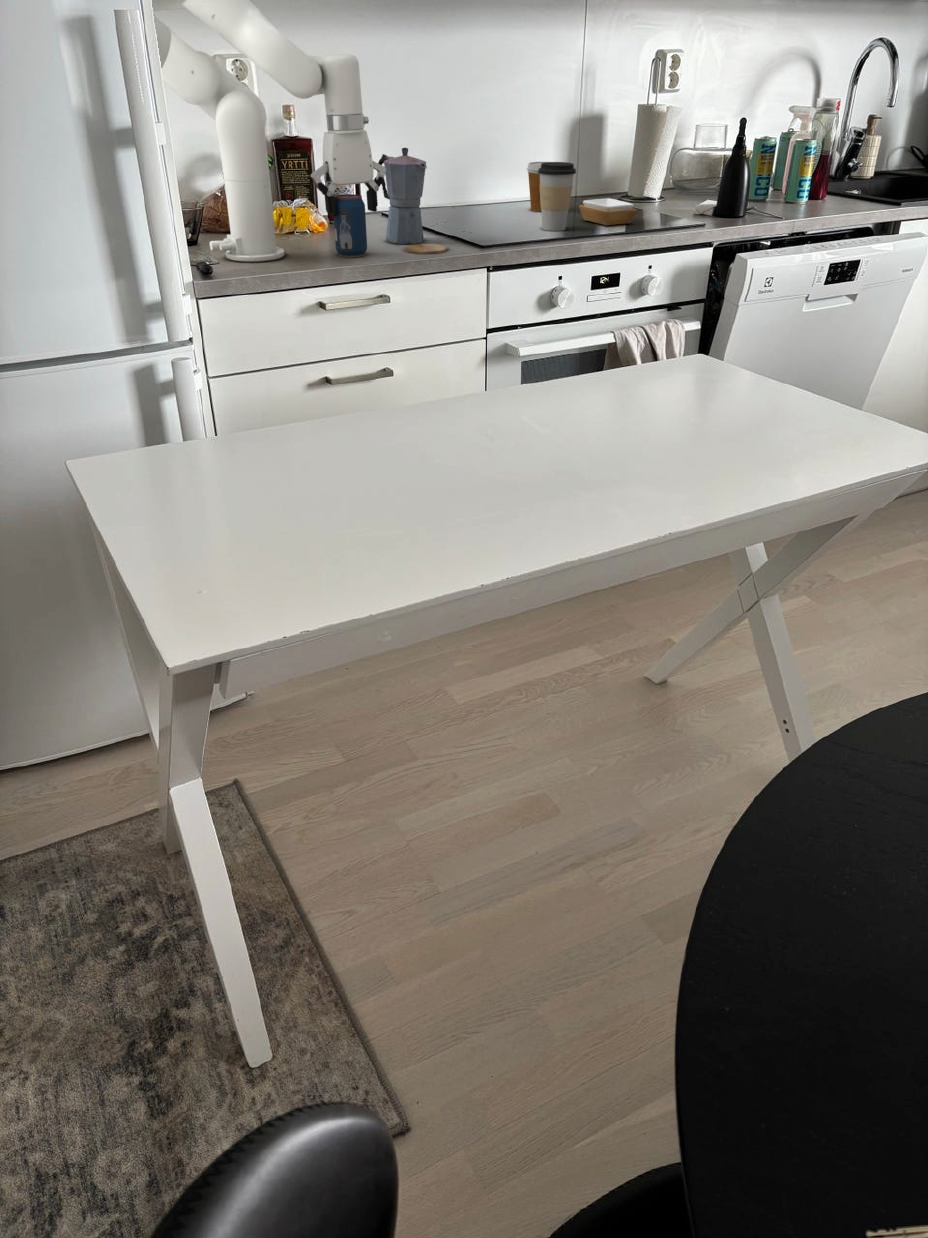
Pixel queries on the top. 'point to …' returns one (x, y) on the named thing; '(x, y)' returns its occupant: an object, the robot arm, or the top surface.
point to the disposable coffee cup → (534, 185)
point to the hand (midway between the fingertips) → (352, 213)
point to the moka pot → (404, 197)
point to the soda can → (350, 226)
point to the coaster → (425, 248)
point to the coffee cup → (555, 194)
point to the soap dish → (607, 211)
